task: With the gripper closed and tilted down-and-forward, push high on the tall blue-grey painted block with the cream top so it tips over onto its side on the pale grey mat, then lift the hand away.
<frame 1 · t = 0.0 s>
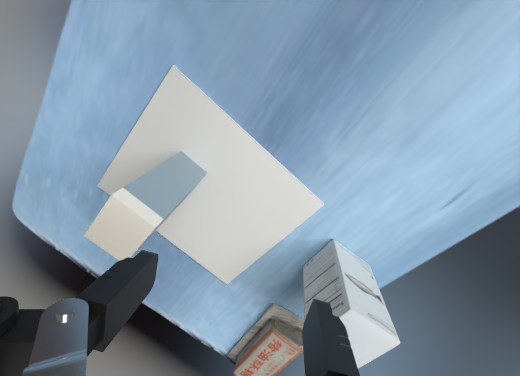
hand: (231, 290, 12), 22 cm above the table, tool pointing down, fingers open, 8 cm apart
mat: (205, 193, 36), on the table
block: (182, 176, 35), resting on mat
supplement box: (334, 263, 38), on the table
packaged product: (271, 337, 48), on the table
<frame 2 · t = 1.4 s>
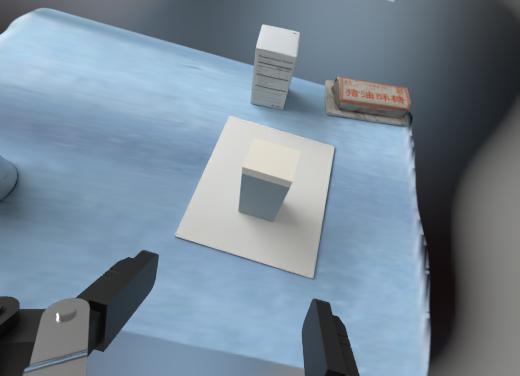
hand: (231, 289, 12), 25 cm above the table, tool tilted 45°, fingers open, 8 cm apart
mat: (265, 186, 44), on the table
block: (259, 204, 41), resting on mat
supplement box: (268, 96, 54), on the table
packaged product: (361, 106, 57), on the table
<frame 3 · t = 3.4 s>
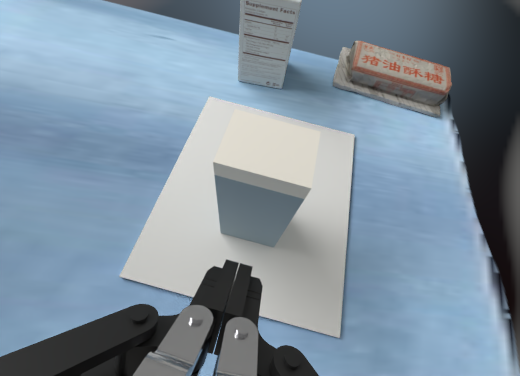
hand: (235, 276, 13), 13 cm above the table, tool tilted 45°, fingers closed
mat: (260, 192, 30), on the table
block: (252, 221, 28), resting on mat
supplement box: (262, 72, 41), on the table
packaged product: (383, 86, 43), on the table
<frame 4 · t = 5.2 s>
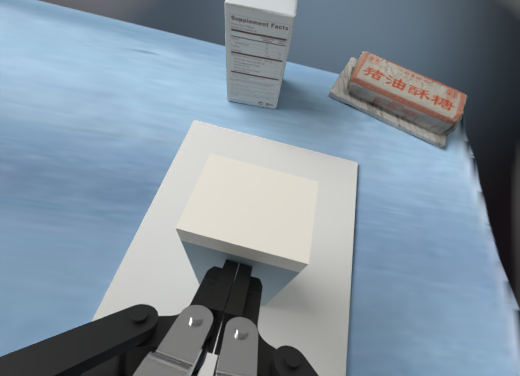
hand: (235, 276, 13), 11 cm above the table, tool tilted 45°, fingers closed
mat: (249, 235, 26), on the table
block: (239, 273, 24), point 1 cm above the table, touching gripper, mat
supplement box: (254, 90, 37), on the table
packaged product: (388, 105, 39), on the table
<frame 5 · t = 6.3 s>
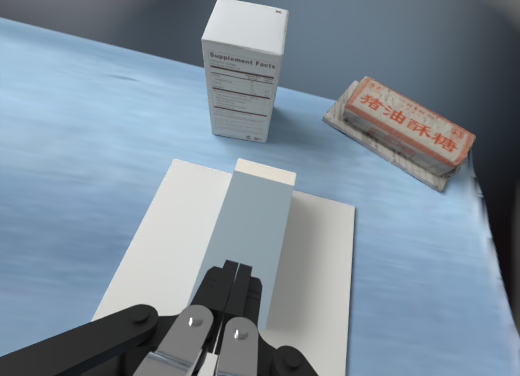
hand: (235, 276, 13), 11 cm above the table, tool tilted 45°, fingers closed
mat: (231, 300, 23), on the table
block: (225, 319, 20), point 3 cm above the table, tilted 90°, touching mat
supplement box: (243, 120, 34), on the table
packaged product: (387, 136, 36), on the table
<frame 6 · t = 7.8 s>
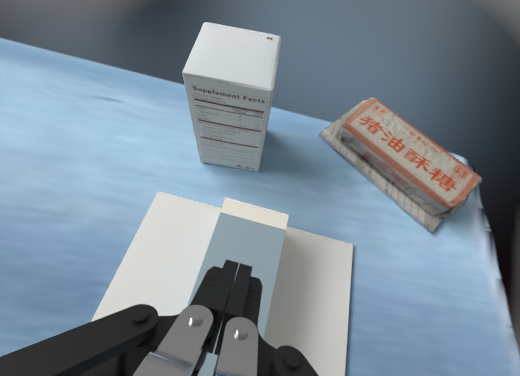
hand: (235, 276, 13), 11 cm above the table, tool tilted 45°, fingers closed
mat: (215, 357, 21), on the table
supplement box: (234, 146, 32), on the table
packaged product: (387, 163, 33), on the table
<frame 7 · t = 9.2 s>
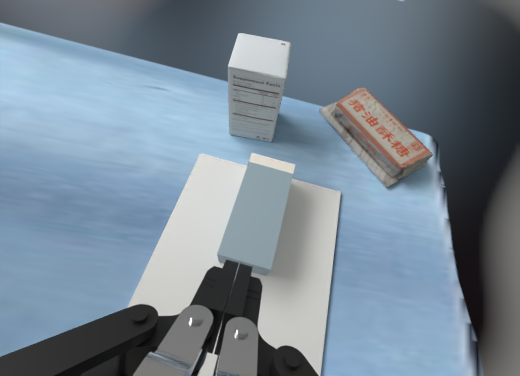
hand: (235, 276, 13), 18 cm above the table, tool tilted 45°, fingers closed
mat: (245, 256, 31), on the table
block: (243, 265, 28), point 3 cm above the table, tilted 90°, touching mat
supplement box: (253, 123, 42), on the table
packaged product: (368, 139, 44), on the table
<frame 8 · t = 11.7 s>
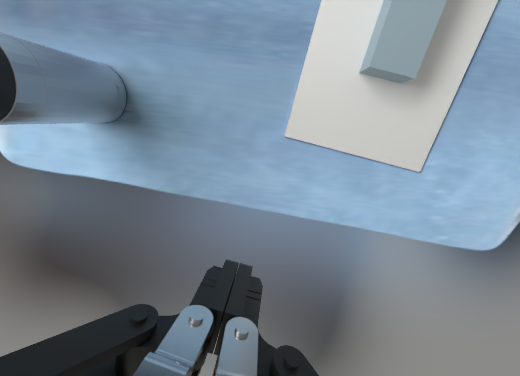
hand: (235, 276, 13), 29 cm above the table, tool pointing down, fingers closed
mat: (382, 66, 35), on the table
block: (385, 75, 33), point 3 cm above the table, tilted 90°, touching mat
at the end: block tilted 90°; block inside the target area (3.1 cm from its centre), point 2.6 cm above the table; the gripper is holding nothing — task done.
